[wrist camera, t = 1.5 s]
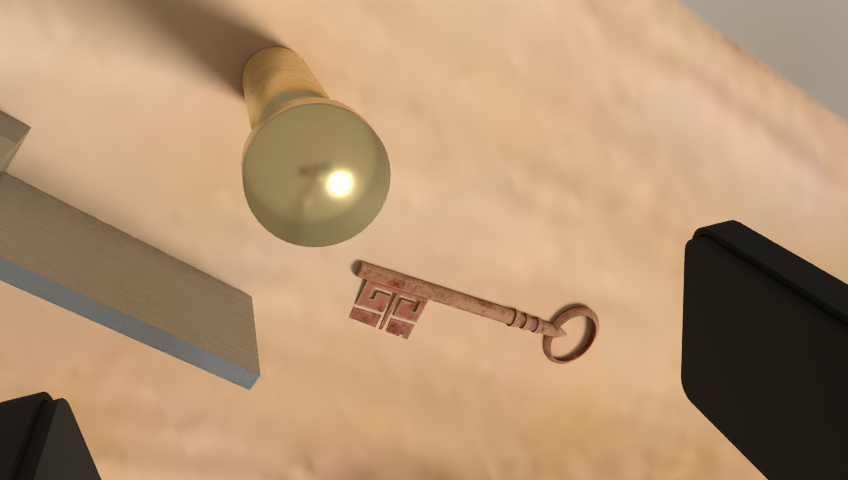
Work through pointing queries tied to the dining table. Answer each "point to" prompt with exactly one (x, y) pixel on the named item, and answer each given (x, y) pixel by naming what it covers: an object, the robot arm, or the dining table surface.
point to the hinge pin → (307, 155)
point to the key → (452, 298)
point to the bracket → (120, 278)
